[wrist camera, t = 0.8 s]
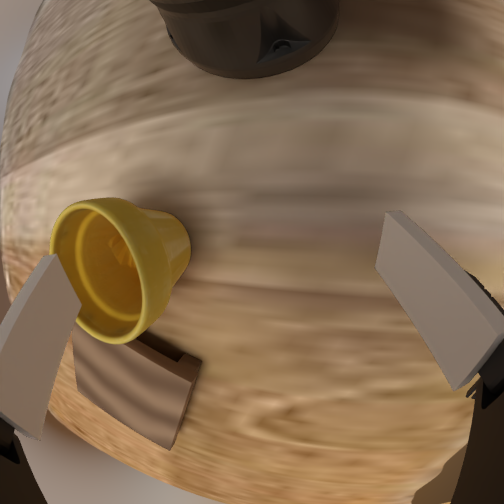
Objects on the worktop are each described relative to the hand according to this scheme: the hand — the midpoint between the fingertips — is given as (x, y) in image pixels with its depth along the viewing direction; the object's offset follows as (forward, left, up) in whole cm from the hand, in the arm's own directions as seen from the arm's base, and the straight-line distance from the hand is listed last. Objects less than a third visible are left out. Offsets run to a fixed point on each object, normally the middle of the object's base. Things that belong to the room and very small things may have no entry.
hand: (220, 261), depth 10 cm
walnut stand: (+25, -9, -13) cm, 29 cm away
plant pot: (+7, -9, -13) cm, 17 cm away
